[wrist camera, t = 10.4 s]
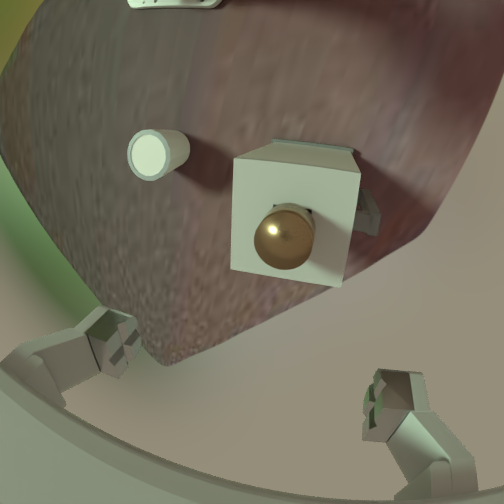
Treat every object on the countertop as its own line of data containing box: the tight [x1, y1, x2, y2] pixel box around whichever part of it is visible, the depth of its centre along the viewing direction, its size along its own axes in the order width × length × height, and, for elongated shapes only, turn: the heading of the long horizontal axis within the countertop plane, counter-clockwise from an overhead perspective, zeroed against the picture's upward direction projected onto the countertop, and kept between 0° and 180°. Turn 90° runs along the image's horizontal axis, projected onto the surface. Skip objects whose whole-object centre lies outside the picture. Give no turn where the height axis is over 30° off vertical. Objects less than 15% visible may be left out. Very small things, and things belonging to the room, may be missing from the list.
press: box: [231, 138, 381, 288], centre depth 31 cm, size 13×10×18 cm
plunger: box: [254, 203, 316, 270], centre depth 29 cm, size 7×7×20 cm
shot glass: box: [127, 129, 190, 181], centre depth 39 cm, size 7×7×7 cm
